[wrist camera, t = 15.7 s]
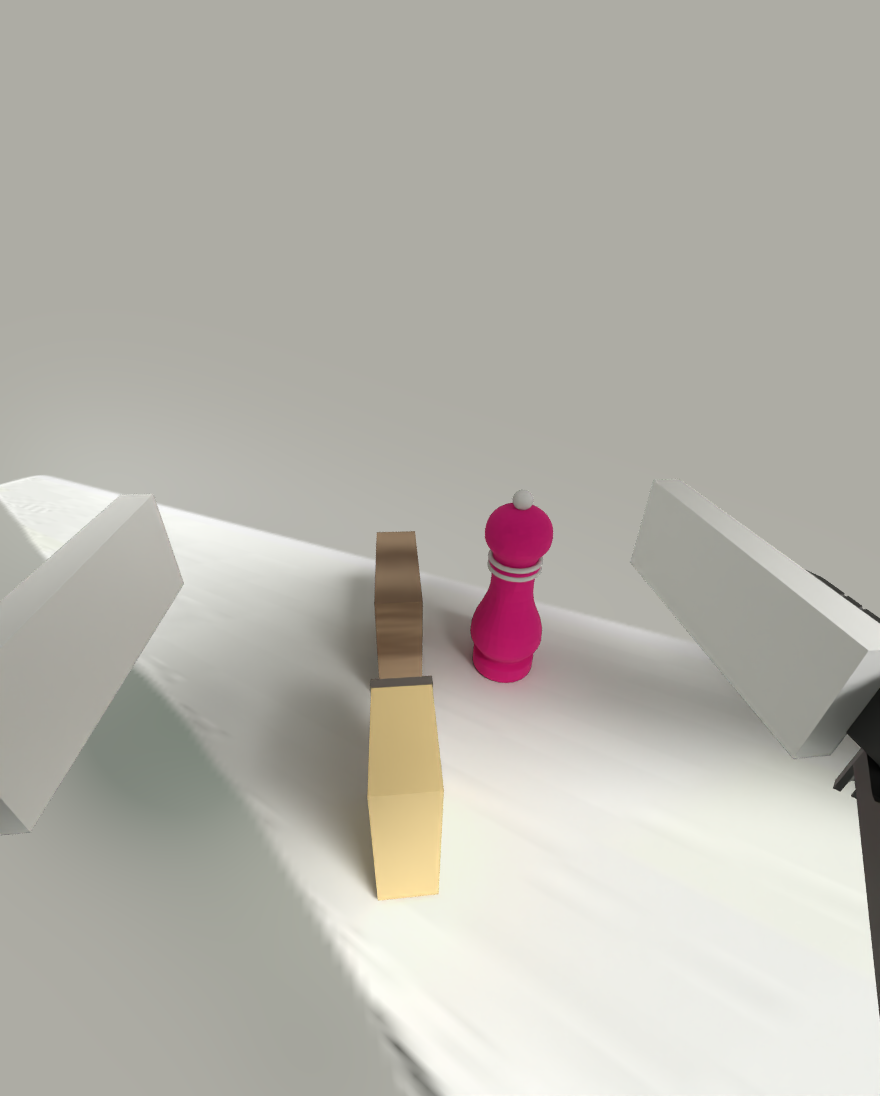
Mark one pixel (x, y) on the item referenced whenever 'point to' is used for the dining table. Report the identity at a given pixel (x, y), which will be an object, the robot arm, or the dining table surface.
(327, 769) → the dining table surface
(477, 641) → the pepper mill
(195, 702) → the dining table surface
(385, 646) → the block
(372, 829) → the stub
